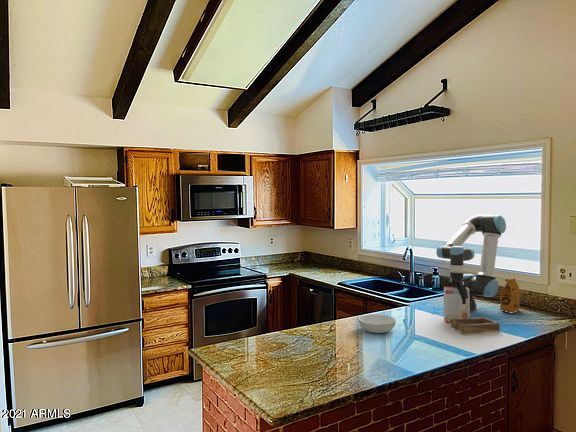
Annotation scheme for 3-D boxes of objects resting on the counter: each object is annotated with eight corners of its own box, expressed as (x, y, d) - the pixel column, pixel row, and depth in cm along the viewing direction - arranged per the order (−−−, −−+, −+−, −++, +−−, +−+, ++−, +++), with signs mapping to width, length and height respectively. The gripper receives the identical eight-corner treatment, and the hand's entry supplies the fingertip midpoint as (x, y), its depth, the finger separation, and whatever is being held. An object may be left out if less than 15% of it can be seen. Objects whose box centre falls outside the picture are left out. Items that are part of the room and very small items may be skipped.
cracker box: (466, 320, 275) (467, 286, 274) (469, 323, 269) (470, 288, 268) (443, 320, 276) (443, 286, 275) (445, 322, 270) (445, 288, 269)
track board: (450, 328, 259) (450, 319, 259) (484, 325, 264) (484, 317, 263) (464, 335, 246) (464, 325, 246) (499, 332, 251) (499, 323, 251)
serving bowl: (353, 333, 251) (353, 321, 251) (364, 324, 269) (364, 312, 269) (390, 338, 241) (390, 325, 241) (399, 328, 260) (399, 316, 260)
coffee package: (497, 311, 297) (497, 278, 296) (507, 308, 304) (507, 276, 303) (512, 314, 289) (512, 280, 288) (522, 311, 296) (522, 278, 295)
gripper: (439, 268, 283) (439, 302, 283) (463, 275, 258) (462, 312, 259) (450, 268, 284) (450, 301, 285) (475, 274, 260) (474, 311, 261)
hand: (456, 306), depth 272 cm, fingers open, 13 cm apart
